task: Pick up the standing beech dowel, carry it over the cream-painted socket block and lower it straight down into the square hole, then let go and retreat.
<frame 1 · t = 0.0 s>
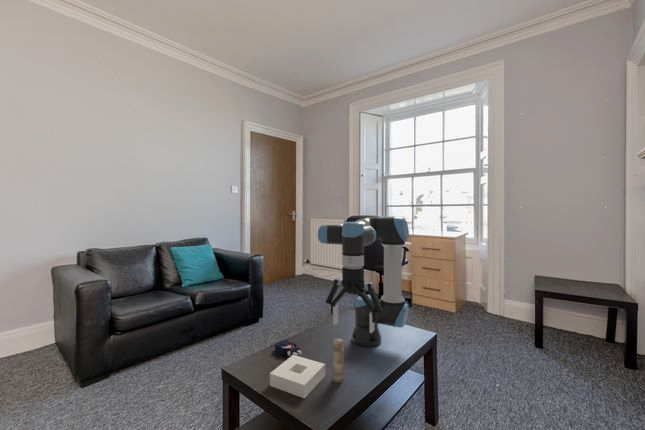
hand: (353, 327, 101), 28 cm above the table, fingers open, 13 cm apart
dowel: (338, 380, 117), on the table
figurine: (288, 354, 139), on the table
socket block: (298, 380, 117), on the table
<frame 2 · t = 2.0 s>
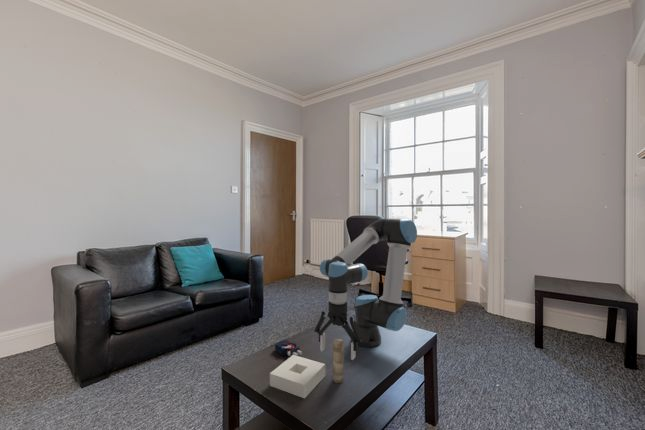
hand: (337, 354, 117), 11 cm above the table, fingers open, 13 cm apart
nothing on the table moved.
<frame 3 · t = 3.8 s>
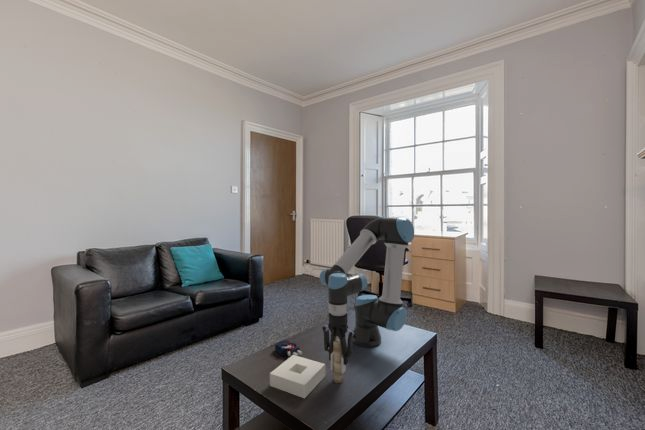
hand: (338, 370, 117), 4 cm above the table, fingers closed on dowel, 4 cm apart
dowel: (338, 380, 117), on the table, touching gripper
everything else where it was.
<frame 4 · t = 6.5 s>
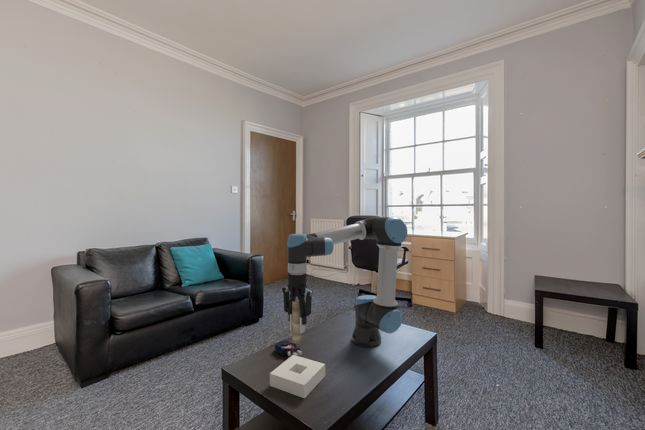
hand: (297, 330, 116), 20 cm above the table, fingers closed on dowel, 4 cm apart
dowel: (297, 341, 116), point 16 cm above the table, touching gripper
everything else where it was.
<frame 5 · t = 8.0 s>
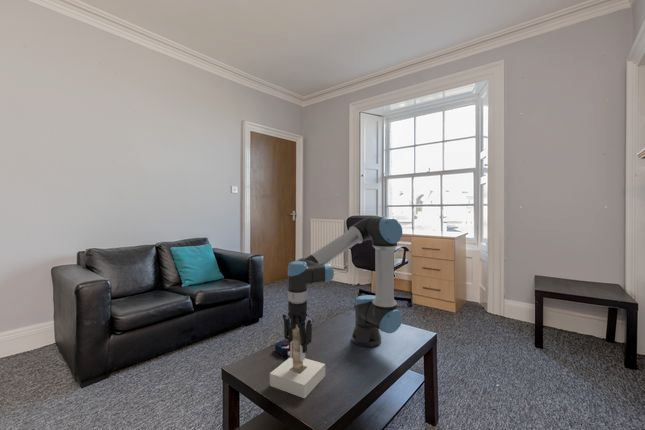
hand: (297, 358, 117), 9 cm above the table, fingers closed on dowel, 4 cm apart
dowel: (297, 368, 117), point 5 cm above the table, touching gripper
everything else where it was.
when the fingers open (7 cm above the table, at t = 9.1 s): dowel drops 2 cm, resting in socket block.
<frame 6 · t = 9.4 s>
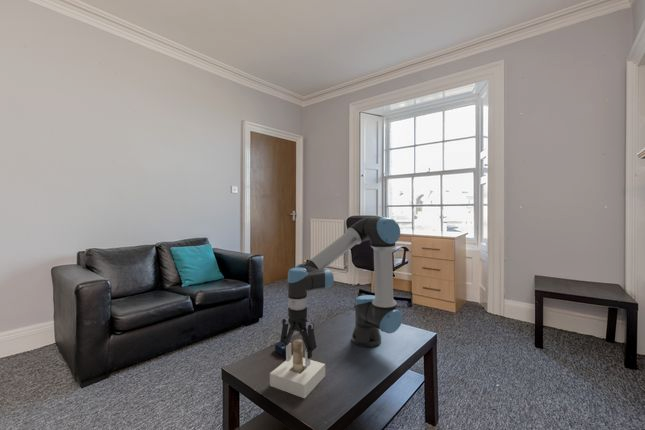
hand: (298, 362, 117), 7 cm above the table, fingers open, 8 cm apart
dowel: (298, 380, 117), resting in socket block
everything else where it was.
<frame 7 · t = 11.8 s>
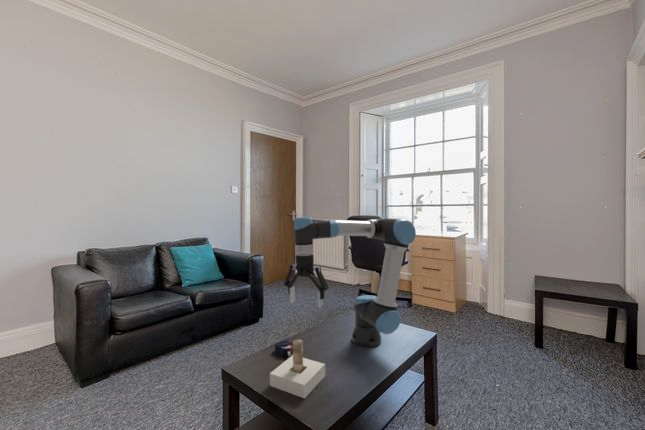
hand: (306, 304, 122), 29 cm above the table, fingers open, 13 cm apart
nothing on the table moved.
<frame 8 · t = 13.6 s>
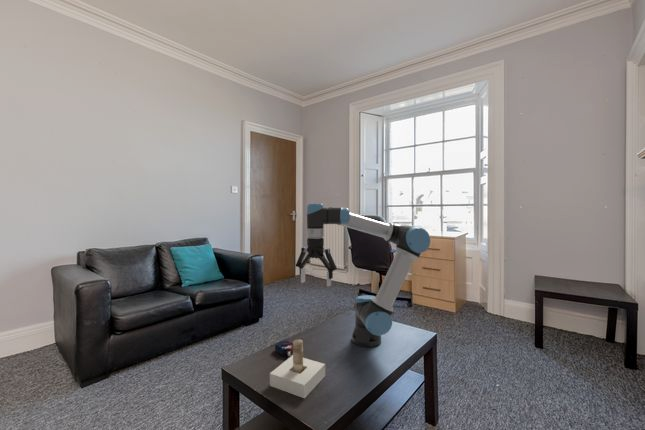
hand: (315, 284, 133), 35 cm above the table, fingers open, 13 cm apart
nothing on the table moved.
at the end: dowel 0.1 cm off-centre on the socket block, point 0.0 cm above the socket block's base; dowel tilted 0°; the gripper is holding nothing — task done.
